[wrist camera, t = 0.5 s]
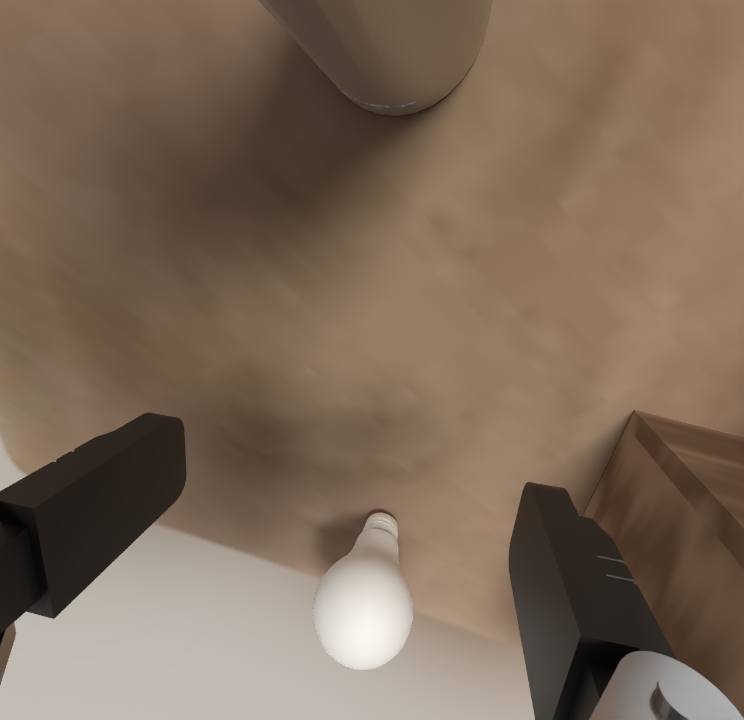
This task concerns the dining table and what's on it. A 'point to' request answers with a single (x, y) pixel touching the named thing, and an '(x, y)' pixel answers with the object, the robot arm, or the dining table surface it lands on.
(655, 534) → the cabinet
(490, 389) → the dining table surface
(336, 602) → the lightbulb
